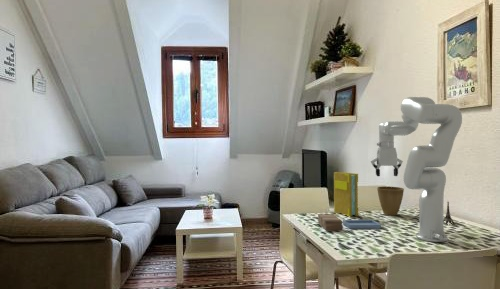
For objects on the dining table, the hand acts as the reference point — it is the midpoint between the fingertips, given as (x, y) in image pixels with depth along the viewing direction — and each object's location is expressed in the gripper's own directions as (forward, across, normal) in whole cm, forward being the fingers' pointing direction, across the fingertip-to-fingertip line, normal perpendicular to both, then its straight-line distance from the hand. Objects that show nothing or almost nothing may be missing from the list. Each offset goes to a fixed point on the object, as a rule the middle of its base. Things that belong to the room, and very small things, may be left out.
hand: (386, 176), depth 185 cm
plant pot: (+25, +9, +17) cm, 31 cm away
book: (+25, -18, +19) cm, 36 cm away
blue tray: (+25, -18, -12) cm, 33 cm away
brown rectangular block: (+25, -34, -12) cm, 44 cm away
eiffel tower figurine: (+26, +30, -8) cm, 40 cm away
